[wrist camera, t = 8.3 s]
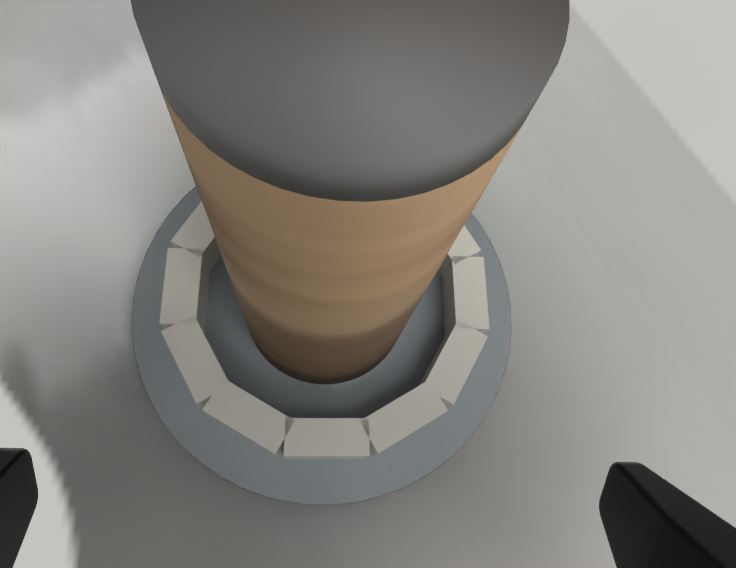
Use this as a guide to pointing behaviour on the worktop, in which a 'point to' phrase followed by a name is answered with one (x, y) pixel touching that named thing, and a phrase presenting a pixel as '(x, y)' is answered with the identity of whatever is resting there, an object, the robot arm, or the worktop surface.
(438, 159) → the brown wooden canister
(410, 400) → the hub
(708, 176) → the worktop surface
